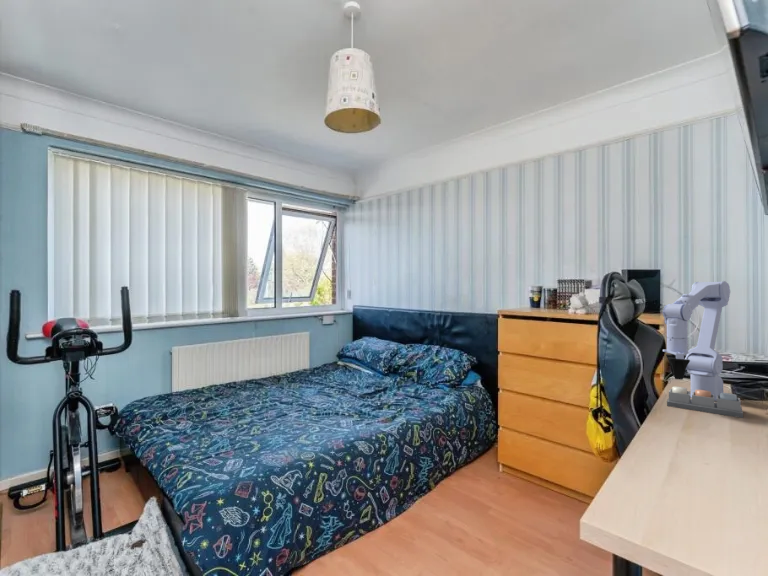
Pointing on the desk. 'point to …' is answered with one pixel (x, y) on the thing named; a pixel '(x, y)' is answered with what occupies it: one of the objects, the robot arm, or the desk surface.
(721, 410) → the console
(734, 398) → the bluegrey button
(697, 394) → the terracotta button
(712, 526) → the desk surface
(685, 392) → the cream button
